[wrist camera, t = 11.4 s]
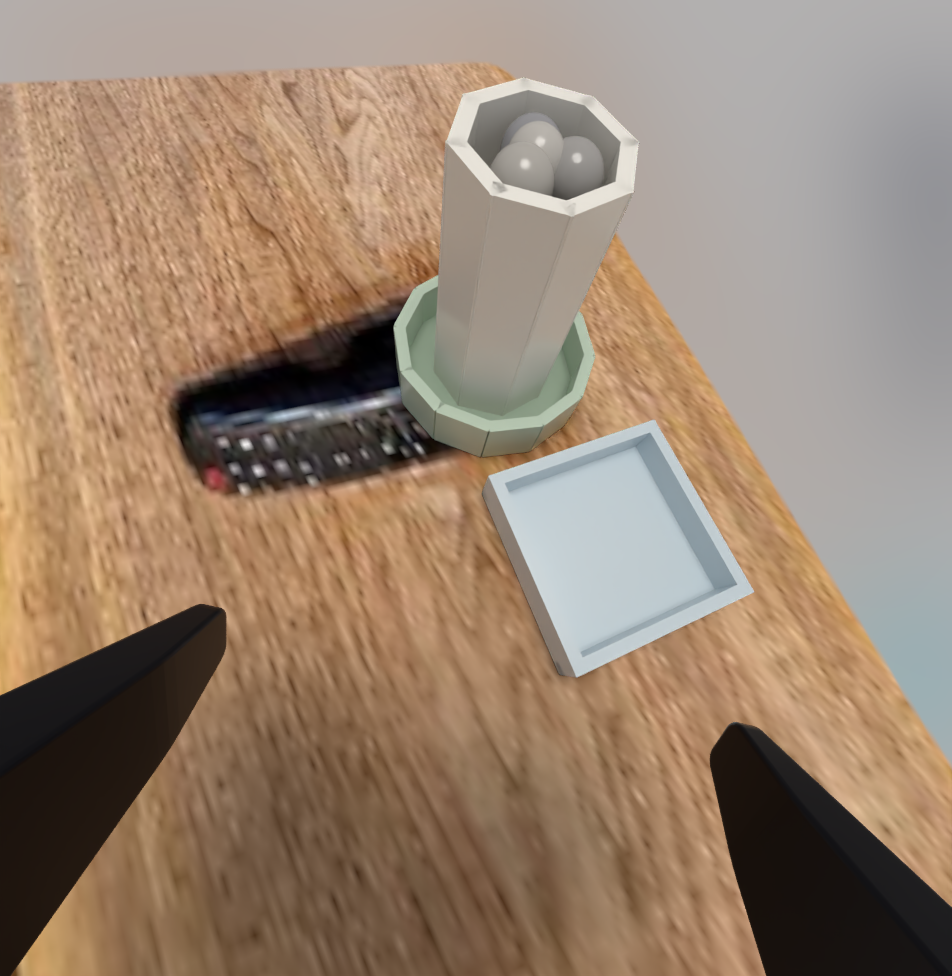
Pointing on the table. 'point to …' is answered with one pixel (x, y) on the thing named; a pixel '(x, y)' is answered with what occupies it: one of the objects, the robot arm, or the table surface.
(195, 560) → the table surface
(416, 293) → the bowl
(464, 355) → the pebble cup
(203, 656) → the robot arm
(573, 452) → the parts tray
